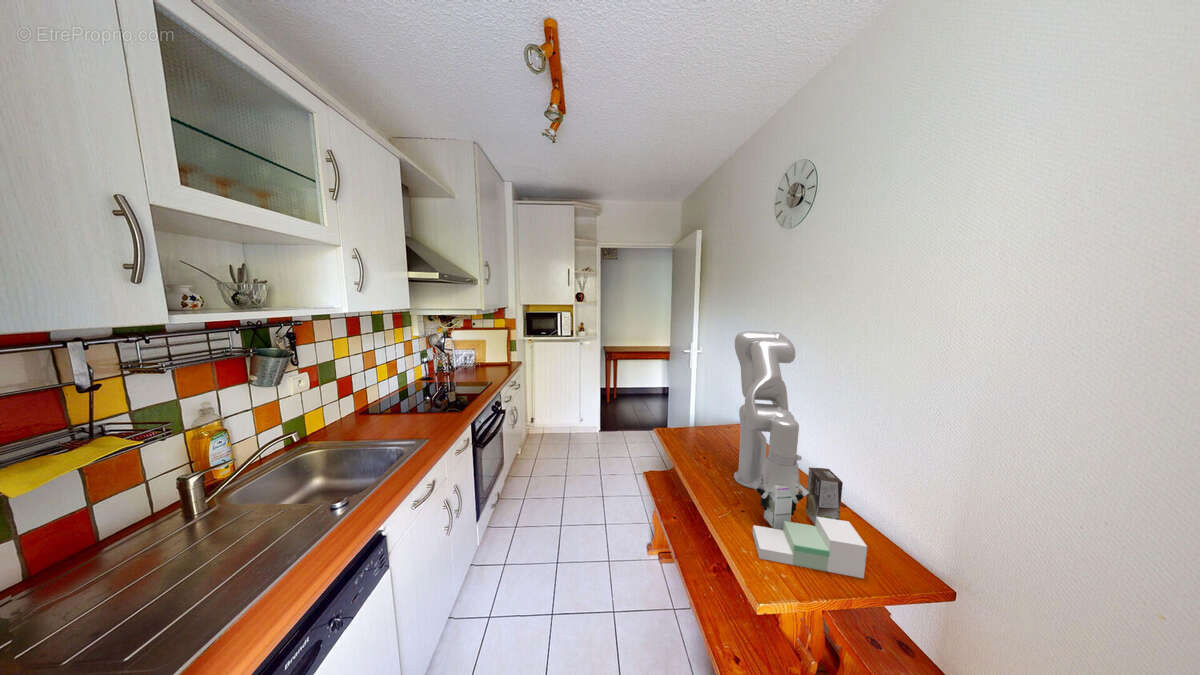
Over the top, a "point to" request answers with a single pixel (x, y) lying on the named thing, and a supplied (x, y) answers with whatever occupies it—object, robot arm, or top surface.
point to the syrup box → (778, 506)
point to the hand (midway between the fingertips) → (777, 509)
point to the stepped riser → (814, 546)
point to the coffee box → (823, 494)
